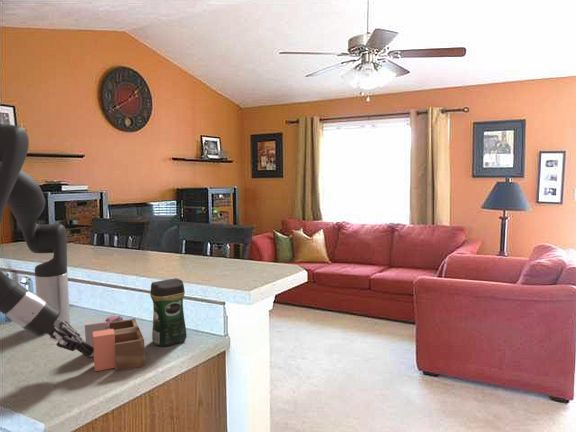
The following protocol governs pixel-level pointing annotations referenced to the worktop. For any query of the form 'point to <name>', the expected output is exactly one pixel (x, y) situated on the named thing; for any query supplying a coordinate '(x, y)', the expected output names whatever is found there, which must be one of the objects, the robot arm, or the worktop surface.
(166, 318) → the coffee jar
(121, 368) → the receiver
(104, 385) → the worktop surface
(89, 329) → the light grey block
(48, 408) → the worktop surface
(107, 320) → the video game controller
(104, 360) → the salmon orange block
